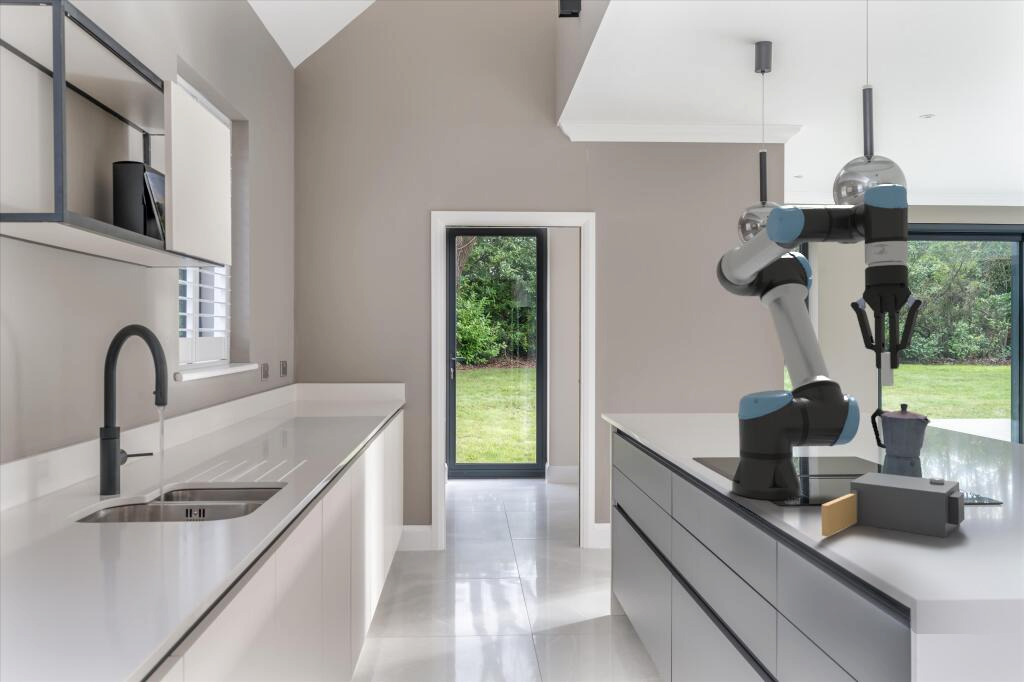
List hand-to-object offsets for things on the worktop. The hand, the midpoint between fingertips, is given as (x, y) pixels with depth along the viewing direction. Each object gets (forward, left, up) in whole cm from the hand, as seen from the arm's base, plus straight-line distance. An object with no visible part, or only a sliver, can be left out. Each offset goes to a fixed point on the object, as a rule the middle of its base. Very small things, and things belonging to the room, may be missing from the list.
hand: (887, 385), depth 140 cm
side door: (-5, -14, -26) cm, 30 cm away
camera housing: (+3, -1, -26) cm, 27 cm away
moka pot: (-6, +32, -27) cm, 42 cm away
